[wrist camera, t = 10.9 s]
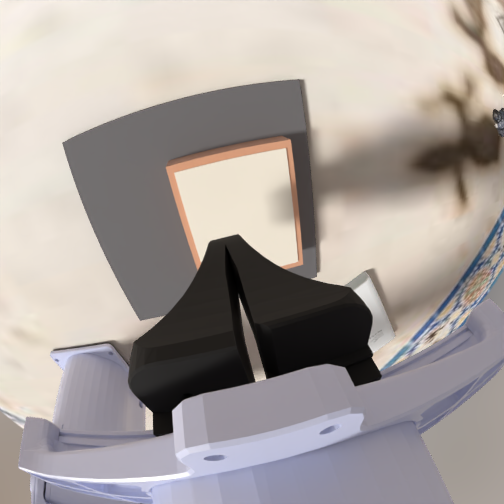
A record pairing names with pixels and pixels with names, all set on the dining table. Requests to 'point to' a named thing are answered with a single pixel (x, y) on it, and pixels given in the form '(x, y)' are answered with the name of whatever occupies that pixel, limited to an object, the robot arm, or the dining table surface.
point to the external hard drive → (373, 311)
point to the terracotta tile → (240, 198)
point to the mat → (159, 188)
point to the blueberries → (499, 120)
